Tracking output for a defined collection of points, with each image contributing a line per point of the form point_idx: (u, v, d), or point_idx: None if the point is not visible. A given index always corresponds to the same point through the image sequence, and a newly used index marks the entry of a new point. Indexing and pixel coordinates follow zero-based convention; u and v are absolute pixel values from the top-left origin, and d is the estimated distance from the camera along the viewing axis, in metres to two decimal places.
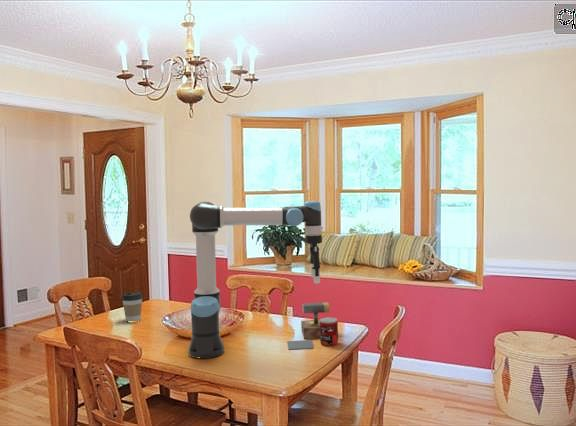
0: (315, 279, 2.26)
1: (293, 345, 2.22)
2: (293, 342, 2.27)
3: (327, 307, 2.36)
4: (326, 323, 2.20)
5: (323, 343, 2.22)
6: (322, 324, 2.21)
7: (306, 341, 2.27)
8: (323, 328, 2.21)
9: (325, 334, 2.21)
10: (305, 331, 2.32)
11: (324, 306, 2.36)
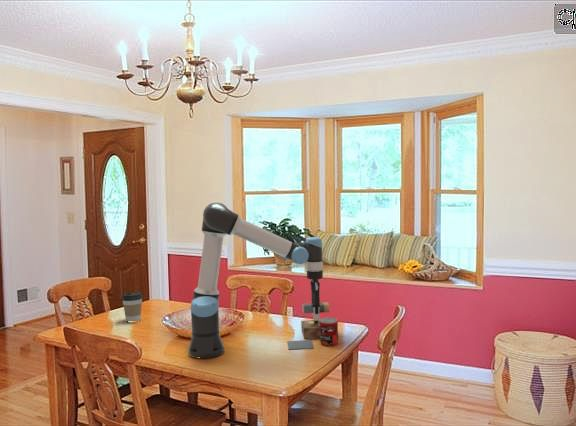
0: (315, 316, 2.35)
1: (293, 345, 2.22)
2: (293, 342, 2.27)
3: (327, 307, 2.36)
4: (326, 323, 2.20)
5: (323, 343, 2.22)
6: (322, 324, 2.21)
7: (306, 341, 2.27)
8: (323, 328, 2.21)
9: (325, 334, 2.21)
10: (305, 331, 2.32)
11: (324, 306, 2.36)
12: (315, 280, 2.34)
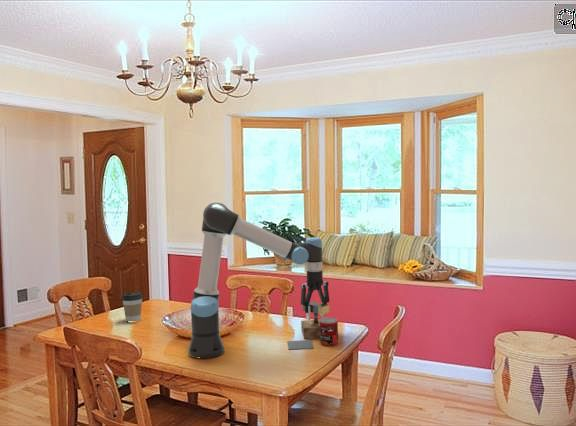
0: (306, 315, 2.38)
1: (293, 345, 2.22)
2: (293, 342, 2.27)
3: (320, 309, 2.33)
4: (326, 323, 2.20)
5: (323, 343, 2.22)
6: (322, 324, 2.21)
7: (306, 341, 2.27)
8: (323, 328, 2.21)
9: (325, 334, 2.21)
10: (305, 331, 2.32)
11: (318, 307, 2.34)
12: (307, 279, 2.36)
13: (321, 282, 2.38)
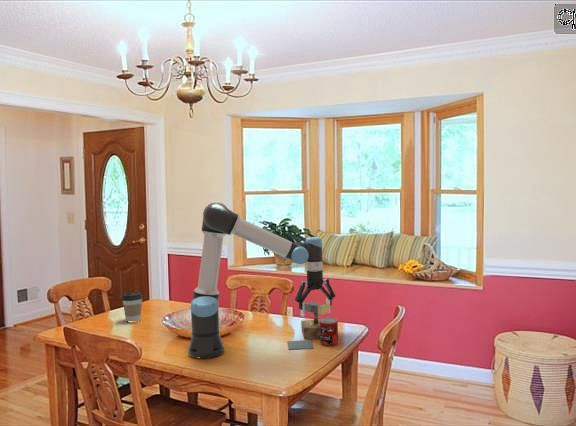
0: (301, 311, 2.36)
1: (293, 345, 2.22)
2: (293, 342, 2.27)
3: (320, 309, 2.33)
4: (326, 323, 2.20)
5: (323, 343, 2.22)
6: (322, 324, 2.21)
7: (306, 341, 2.27)
8: (323, 328, 2.21)
9: (325, 334, 2.21)
10: (305, 331, 2.32)
11: (318, 307, 2.34)
12: None
13: (321, 282, 2.38)
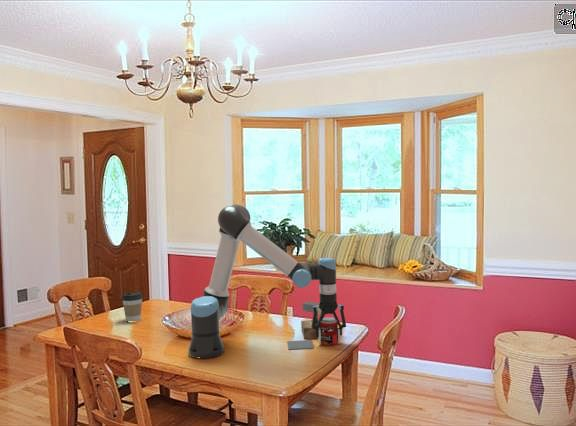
0: (318, 339, 2.25)
1: (293, 345, 2.22)
2: (293, 342, 2.27)
3: (320, 309, 2.33)
4: (326, 323, 2.20)
5: (323, 343, 2.22)
6: (322, 324, 2.21)
7: (306, 341, 2.27)
8: (323, 328, 2.21)
9: (325, 334, 2.21)
10: (305, 331, 2.32)
11: None
12: (320, 302, 2.23)
13: (335, 306, 2.23)
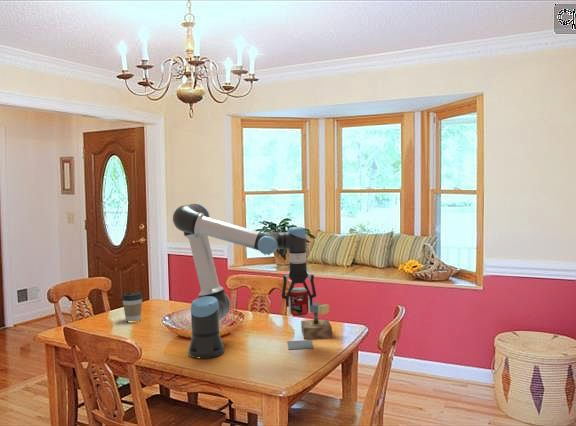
0: None
1: (293, 345, 2.22)
2: (293, 342, 2.27)
3: (320, 309, 2.33)
4: (296, 292, 2.19)
5: (293, 312, 2.20)
6: (292, 293, 2.20)
7: (306, 341, 2.27)
8: (293, 297, 2.19)
9: (295, 303, 2.19)
10: (305, 331, 2.32)
11: (318, 307, 2.34)
12: (290, 271, 2.22)
13: (305, 275, 2.21)
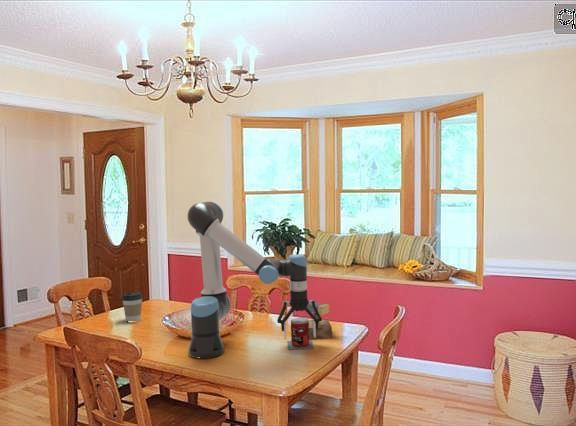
0: None
1: None
2: None
3: (320, 309, 2.33)
4: (296, 323, 2.19)
5: (294, 343, 2.21)
6: (293, 324, 2.20)
7: None
8: (294, 328, 2.20)
9: (296, 335, 2.20)
10: None
11: (318, 307, 2.34)
12: None
13: (306, 303, 2.22)
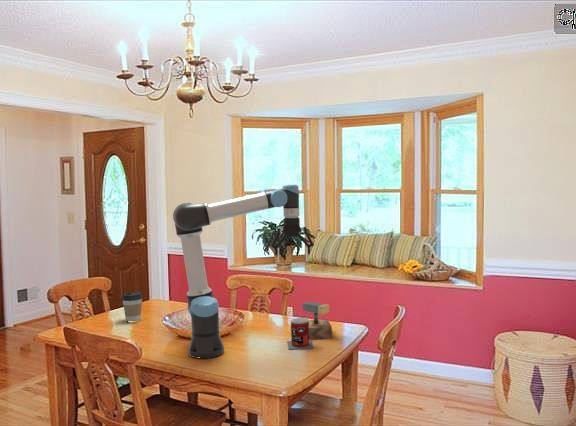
0: None
1: None
2: None
3: (320, 309, 2.33)
4: (297, 323, 2.19)
5: (294, 343, 2.21)
6: (293, 324, 2.20)
7: None
8: (294, 328, 2.20)
9: (296, 335, 2.20)
10: None
11: (318, 307, 2.34)
12: None
13: (298, 229, 2.38)
